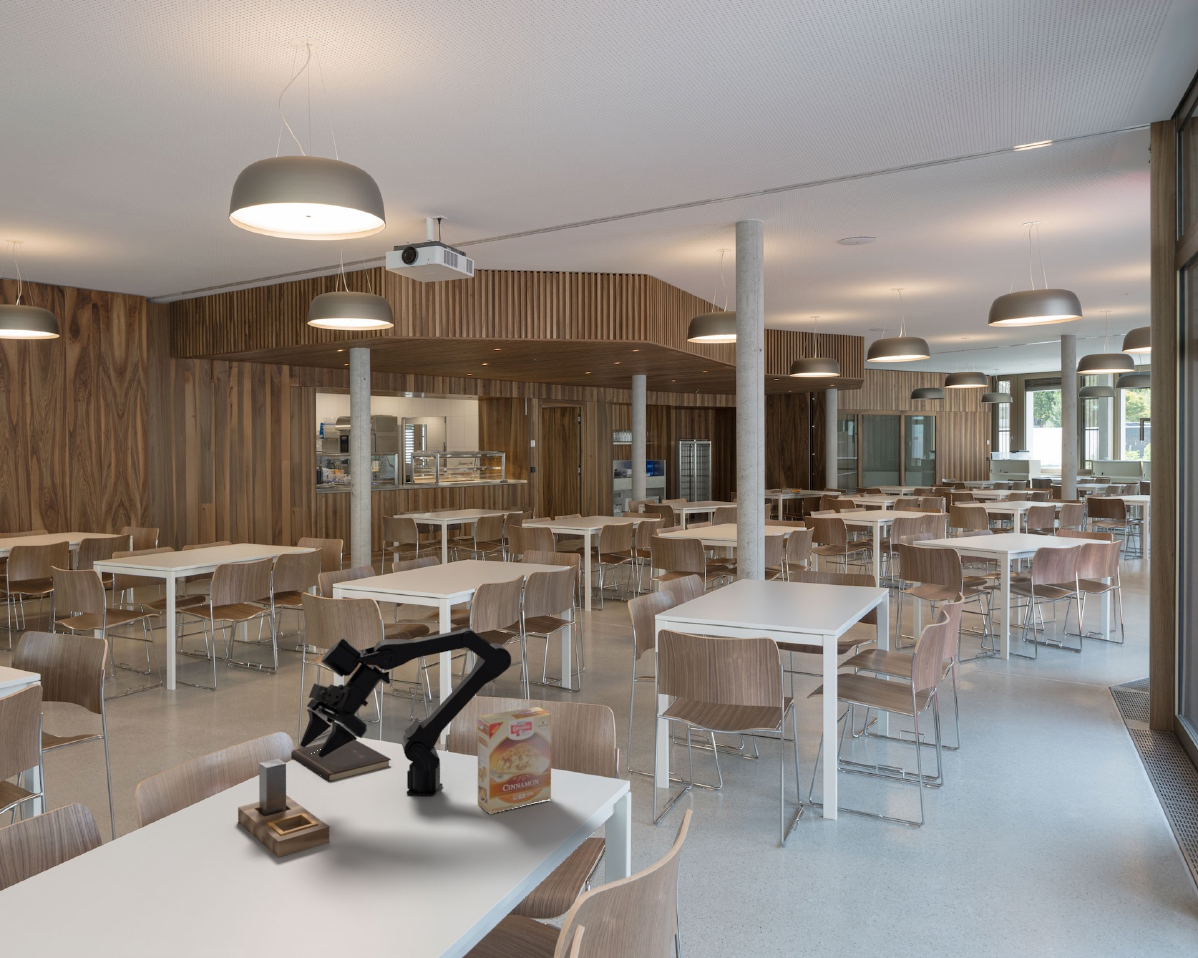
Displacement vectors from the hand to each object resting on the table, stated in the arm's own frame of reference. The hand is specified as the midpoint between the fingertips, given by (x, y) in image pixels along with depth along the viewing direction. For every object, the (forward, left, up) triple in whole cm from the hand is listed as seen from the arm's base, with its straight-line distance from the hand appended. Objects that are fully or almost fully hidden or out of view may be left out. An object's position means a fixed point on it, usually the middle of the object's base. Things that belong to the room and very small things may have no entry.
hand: (310, 751), depth 179 cm
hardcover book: (+8, -32, -14) cm, 36 cm away
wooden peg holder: (+1, +9, -13) cm, 16 cm away
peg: (+5, +6, -13) cm, 15 cm away
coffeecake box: (-42, -12, -13) cm, 45 cm away
